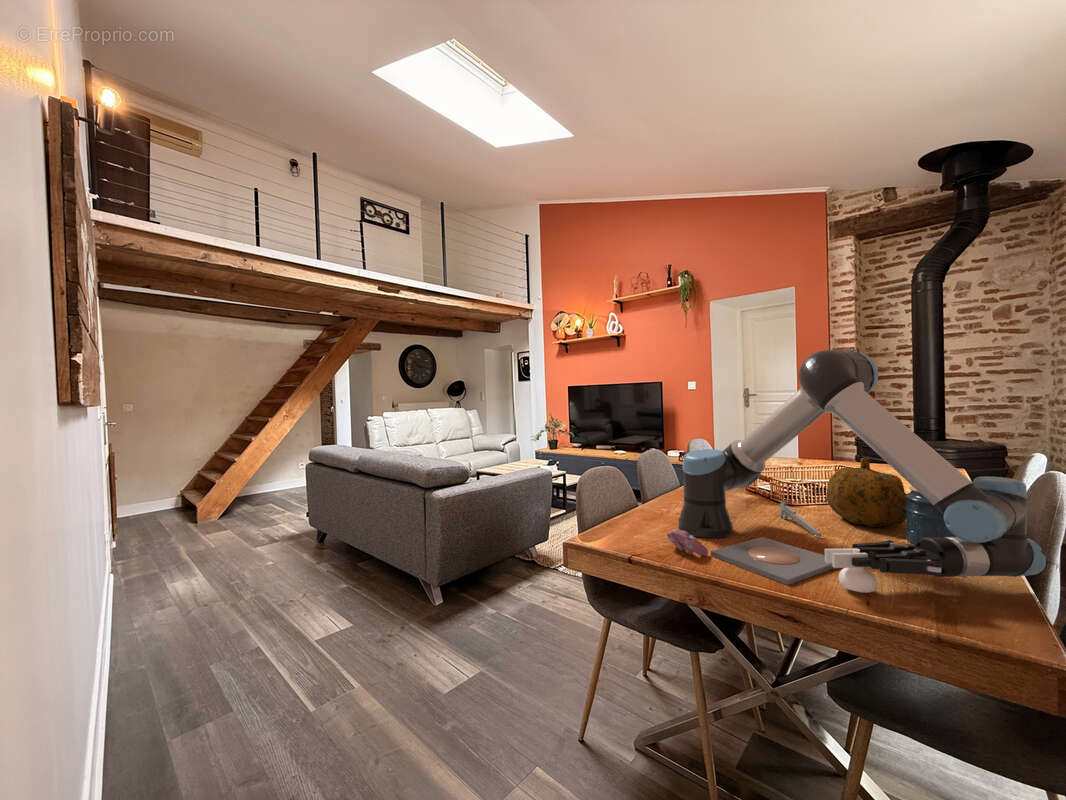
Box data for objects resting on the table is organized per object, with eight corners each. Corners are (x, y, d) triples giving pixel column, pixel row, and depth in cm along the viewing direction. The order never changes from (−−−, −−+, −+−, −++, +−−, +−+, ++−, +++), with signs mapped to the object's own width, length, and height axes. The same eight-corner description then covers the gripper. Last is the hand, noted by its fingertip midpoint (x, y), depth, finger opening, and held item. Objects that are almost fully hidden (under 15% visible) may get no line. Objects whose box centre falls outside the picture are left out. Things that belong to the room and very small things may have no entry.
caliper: (779, 518, 143) (779, 499, 142) (782, 518, 143) (782, 498, 142) (820, 539, 122) (820, 517, 122) (824, 539, 122) (824, 517, 122)
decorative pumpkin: (841, 528, 127) (841, 458, 129) (818, 514, 148) (818, 454, 149) (927, 535, 122) (926, 462, 123) (890, 520, 142) (890, 457, 143)
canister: (987, 550, 110) (987, 479, 110) (944, 555, 108) (943, 483, 108) (932, 534, 123) (931, 470, 123) (892, 538, 121) (891, 473, 121)
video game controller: (671, 552, 120) (661, 531, 118) (683, 542, 121) (673, 521, 120) (698, 565, 111) (688, 542, 109) (711, 554, 112) (701, 531, 111)
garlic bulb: (861, 582, 94) (858, 544, 94) (886, 593, 88) (882, 551, 88) (832, 584, 94) (829, 545, 94) (854, 594, 87) (851, 553, 88)
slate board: (710, 555, 112) (710, 550, 112) (762, 541, 122) (762, 536, 122) (787, 585, 95) (787, 578, 95) (841, 565, 104) (841, 559, 104)
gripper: (985, 591, 82) (854, 592, 84) (919, 560, 97) (808, 562, 98) (985, 551, 82) (853, 553, 83) (918, 526, 97) (808, 528, 98)
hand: (829, 558), depth 91 cm, fingers closed on garlic bulb, 2 cm apart
